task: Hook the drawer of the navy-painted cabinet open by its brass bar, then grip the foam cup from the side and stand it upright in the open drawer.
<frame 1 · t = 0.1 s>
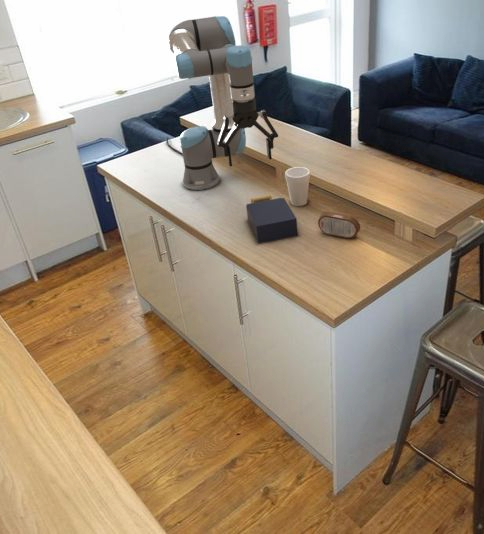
hand: (250, 161, 189), 28 cm above the table, tool pointing down, fingers open, 13 cm apart
foam cup: (299, 202, 222), on the table
drawer: (267, 212, 209), point 4 cm above the table, slide at 1.0 cm
tin: (338, 235, 200), on the table
cabinet: (272, 228, 207), on the table
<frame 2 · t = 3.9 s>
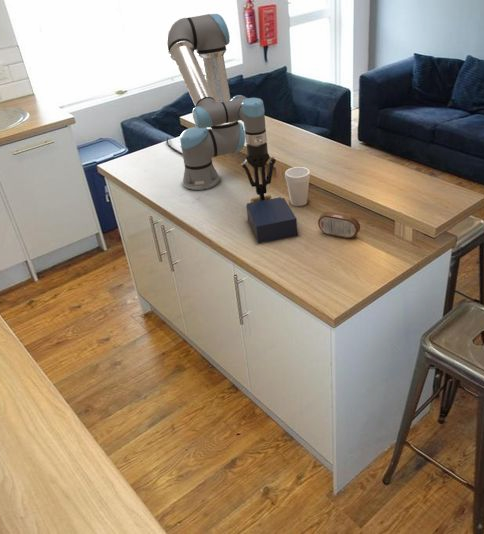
hand: (262, 201, 215), 4 cm above the table, tool pointing down, fingers closed
drawer: (267, 212, 210), point 4 cm above the table, slide at 1.5 cm
everything else where it was.
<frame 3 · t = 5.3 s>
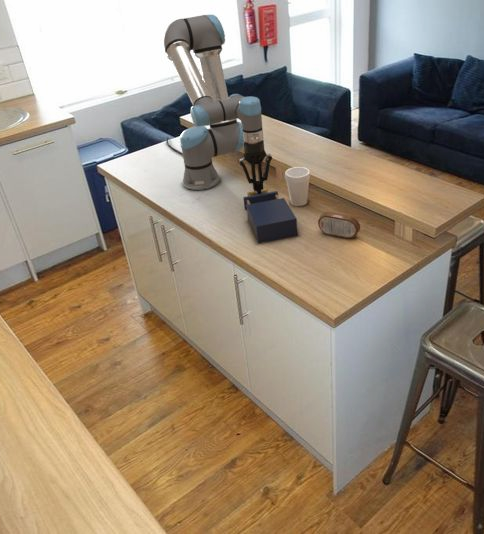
hand: (259, 197, 220), 3 cm above the table, tool pointing down, fingers closed
drawer: (263, 205, 214), point 4 cm above the table, slide at 7.0 cm, touching gripper
everything else where it was.
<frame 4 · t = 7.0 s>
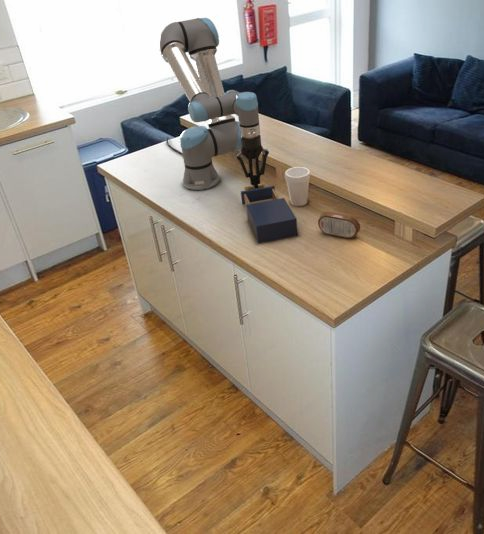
hand: (256, 191, 224), 3 cm above the table, tool pointing down, fingers closed
drawer: (260, 199, 218), point 4 cm above the table, slide at 12.1 cm
everything else where it was.
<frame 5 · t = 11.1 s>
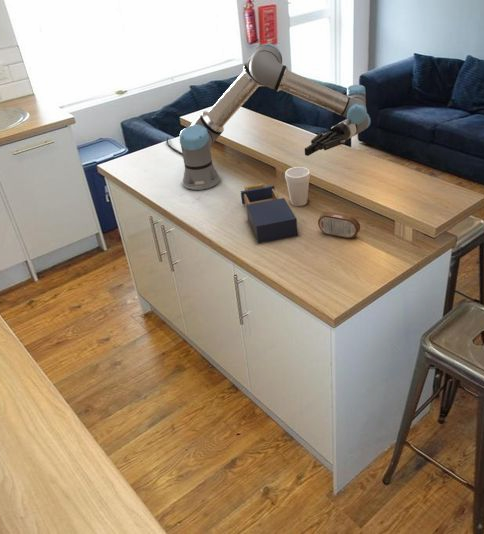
hand: (306, 152, 215), 19 cm above the table, tool horizontal, fingers closed
nothing on the table moved.
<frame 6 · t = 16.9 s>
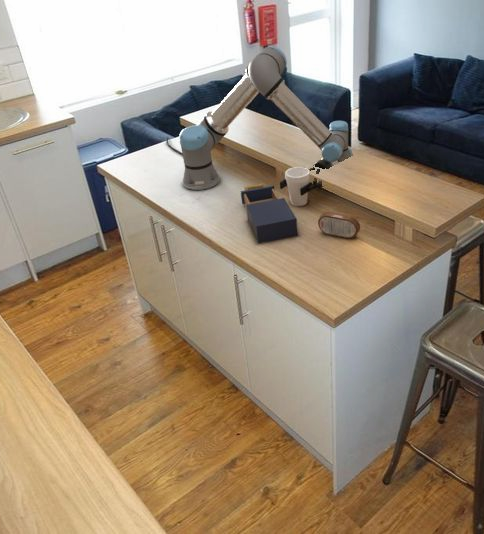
hand: (290, 188, 215), 8 cm above the table, tool horizontal, fingers closed on foam cup, 9 cm apart
foam cup: (299, 202, 222), on the table, touching gripper
everything else where it was.
when the fingers open (10 cm above the table, at t = 24.6 s): foam cup stays where it is, resting on drawer.
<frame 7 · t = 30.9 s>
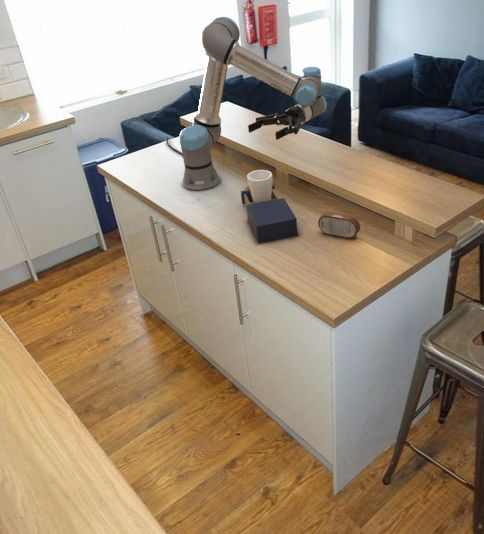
hand: (262, 132, 210), 28 cm above the table, tool horizontal, fingers open, 13 cm apart
foam cup: (262, 206, 217), point 2 cm above the table, touching drawer
drawer: (260, 199, 218), point 4 cm above the table, slide at 12.2 cm, touching foam cup
everything else where it was.
at the end: drawer slide at 12.2 cm; foam cup inside the target area in the drawer (0.3 cm from its centre), point 1.8 cm above the cabinet's base; foam cup tilted 0° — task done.
